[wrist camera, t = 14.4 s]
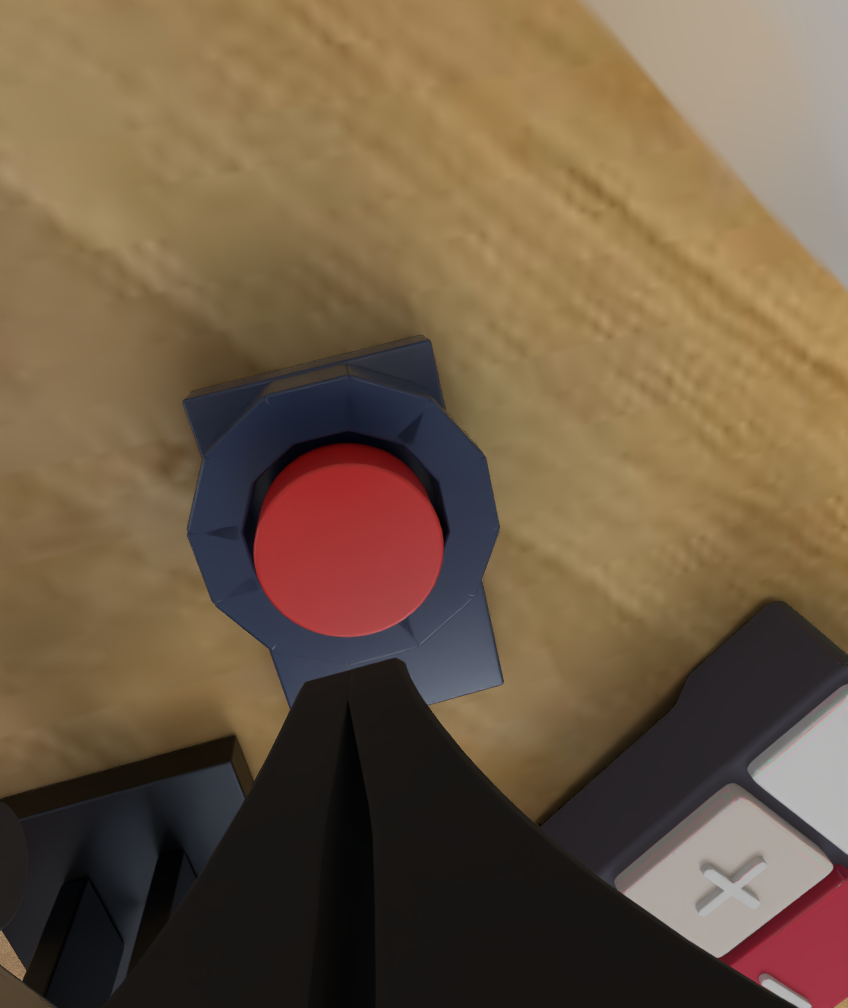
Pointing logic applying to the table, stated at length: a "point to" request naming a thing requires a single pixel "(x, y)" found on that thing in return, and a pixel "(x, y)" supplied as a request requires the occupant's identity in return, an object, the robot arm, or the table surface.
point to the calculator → (738, 811)
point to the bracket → (116, 864)
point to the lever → (14, 905)
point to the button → (347, 541)
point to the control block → (365, 420)
